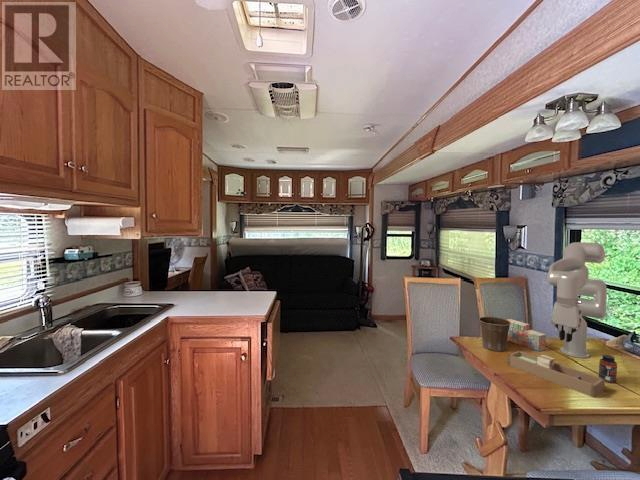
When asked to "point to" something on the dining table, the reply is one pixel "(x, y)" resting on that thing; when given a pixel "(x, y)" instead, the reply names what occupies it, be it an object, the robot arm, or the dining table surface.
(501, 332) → the plant pot
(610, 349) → the dining table surface
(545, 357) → the birch block
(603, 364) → the supplement bottle
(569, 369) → the track
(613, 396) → the dining table surface
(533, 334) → the stack of blocks
